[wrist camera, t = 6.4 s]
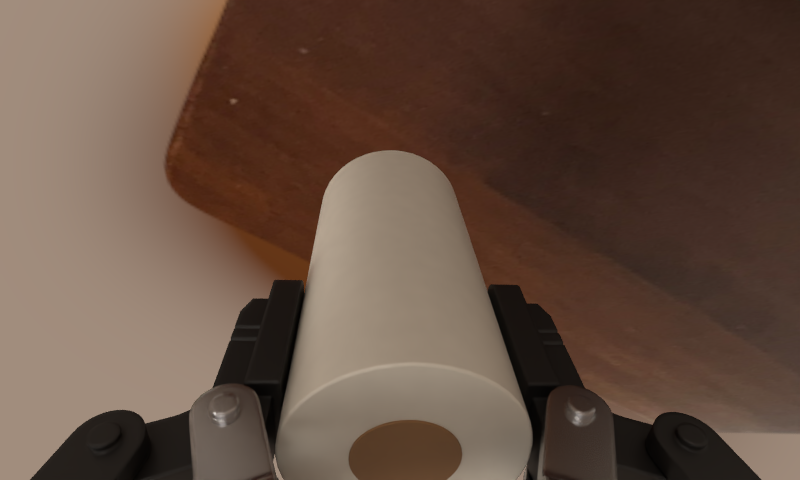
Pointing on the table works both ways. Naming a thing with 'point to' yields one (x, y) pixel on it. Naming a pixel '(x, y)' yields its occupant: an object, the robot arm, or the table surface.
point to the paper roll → (398, 340)
